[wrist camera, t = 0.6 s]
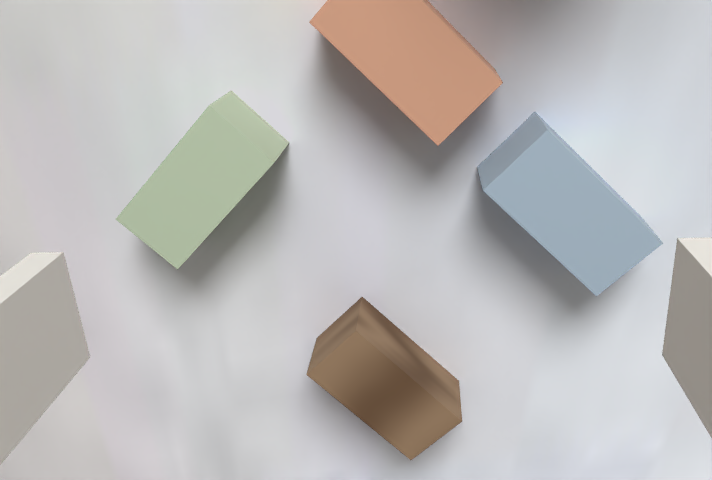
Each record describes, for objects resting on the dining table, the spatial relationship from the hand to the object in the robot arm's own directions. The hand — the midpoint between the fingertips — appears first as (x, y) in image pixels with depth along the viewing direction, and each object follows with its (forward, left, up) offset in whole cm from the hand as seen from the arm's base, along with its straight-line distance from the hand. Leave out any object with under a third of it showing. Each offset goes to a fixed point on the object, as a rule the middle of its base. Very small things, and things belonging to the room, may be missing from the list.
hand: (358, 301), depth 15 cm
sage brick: (-5, -10, -22) cm, 24 cm away
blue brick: (+9, +2, -22) cm, 24 cm away
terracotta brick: (-2, +3, -22) cm, 22 cm away
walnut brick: (+10, -12, -22) cm, 27 cm away
